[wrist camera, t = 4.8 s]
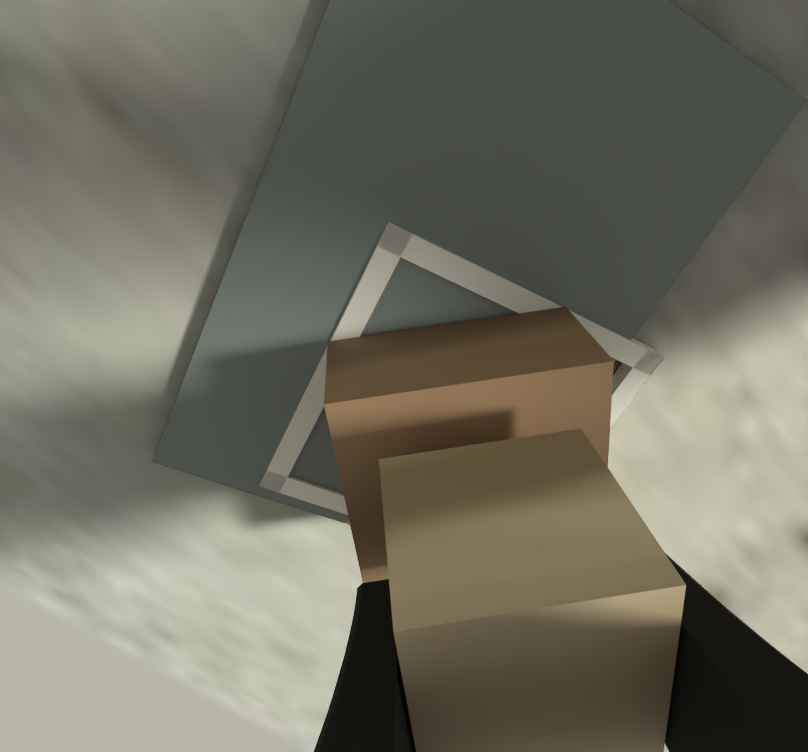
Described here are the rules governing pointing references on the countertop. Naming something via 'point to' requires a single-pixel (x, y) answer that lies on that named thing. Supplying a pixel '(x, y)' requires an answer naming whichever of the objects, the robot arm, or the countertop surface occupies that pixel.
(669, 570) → the maple cube
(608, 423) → the walnut slab
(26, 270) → the countertop surface
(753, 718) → the robot arm
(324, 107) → the slate mat
